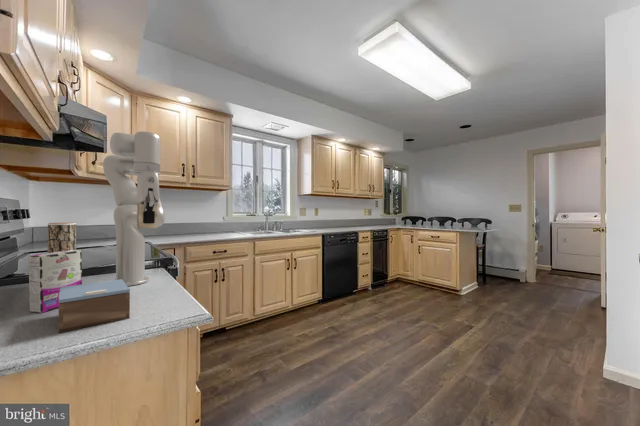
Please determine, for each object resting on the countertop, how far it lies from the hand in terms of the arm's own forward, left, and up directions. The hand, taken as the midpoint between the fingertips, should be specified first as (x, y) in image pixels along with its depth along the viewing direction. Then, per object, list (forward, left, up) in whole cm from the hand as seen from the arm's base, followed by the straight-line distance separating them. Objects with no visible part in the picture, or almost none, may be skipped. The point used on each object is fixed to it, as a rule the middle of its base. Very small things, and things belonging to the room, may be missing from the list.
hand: (146, 222), depth 92 cm
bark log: (-15, -21, -26) cm, 36 cm away
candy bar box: (-7, -22, -26) cm, 34 cm away
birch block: (0, 0, -2) cm, 2 cm away
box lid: (+11, -14, -18) cm, 25 cm away
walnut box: (+11, -14, -25) cm, 31 cm away
